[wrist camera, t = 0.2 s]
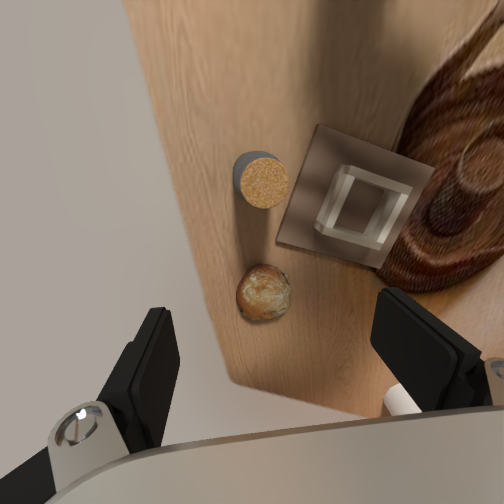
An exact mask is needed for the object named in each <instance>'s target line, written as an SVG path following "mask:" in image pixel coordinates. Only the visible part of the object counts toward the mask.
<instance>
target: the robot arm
mask: <svg viewBox="0 0 504 504" xmlns="http://www.w3.org/2000/svg"><path fill="white" fill-rule="evenodd" d="M370 341H371V345H372V347H373V348H374V349H375V351H376V352H377V353H378V355H379V356H380V357H381V359H382V360H383V361H384V363H385V364H386V365H387V367H388V368H389V369H390V370H391V372H392V373H393V374H394V376H395V377H396V378H397V380H398V381H399V382H400V384H401V385H402V386H403V388H404V389H405V390H406V392H407V393H408V394H409V396H410V397H411V398H412V399H413V401H414V402H415V403H416V405H417V406H418V407H419V409H420V410H421V411H422V412H421V413H413V414H404V415H395V416H387V417H378V418H370V419H362V420H355V421H346V422H338V423H329V424H321V425H313V426H305V427H298V428H289V429H281V430H274V431H267V432H259V433H251V434H243V435H235V436H227V437H220V438H213V439H206V440H200V441H193V442H186V443H179V444H173V445H167V446H163V447H161V442H162V439H163V435H164V430H165V426H166V421H167V418H168V413H169V409H170V405H171V400H172V396H173V392H174V388H175V384H176V379H177V375H178V371H179V367H180V356H179V351H178V346H177V341H176V336H175V332H174V326H173V321H172V316H171V312H170V310H166V308H165V307H158V308H151V309H150V310H149V312H148V314H147V316H146V318H145V320H144V321H143V323H142V325H141V327H140V329H139V331H138V333H137V335H136V337H135V339H134V341H132V342H129V343H128V344H127V345H126V347H125V349H124V350H123V352H122V354H121V356H120V358H119V360H118V361H117V363H116V365H115V367H114V369H113V371H112V372H111V374H110V376H109V378H108V380H107V382H106V383H105V385H104V387H103V389H102V391H101V392H100V394H99V396H98V398H97V400H96V401H91V402H87V403H83V404H81V405H79V406H77V407H75V408H73V409H72V410H71V411H69V412H68V413H66V414H65V415H64V416H63V417H62V418H61V419H60V420H59V421H58V422H57V423H56V425H55V426H54V427H53V429H52V430H51V432H50V435H49V437H48V446H47V447H45V448H44V449H43V450H41V451H40V452H38V453H37V454H35V455H34V456H33V457H31V458H30V459H28V460H27V461H26V462H24V463H23V464H22V465H20V466H18V467H17V468H16V469H14V470H13V471H11V472H10V473H9V474H7V475H6V476H4V477H3V478H1V479H0V504H504V358H496V357H493V358H488V359H487V360H486V361H485V362H484V361H483V360H482V359H480V355H481V353H482V352H481V351H480V350H478V349H477V348H476V347H475V346H473V345H472V344H471V343H469V342H468V341H467V340H465V339H464V338H463V337H462V336H460V335H459V334H458V333H456V332H455V331H454V330H452V329H451V328H450V327H449V326H447V325H446V324H445V323H443V322H442V321H441V320H439V319H438V318H437V317H436V316H434V315H433V314H432V313H430V312H429V311H428V310H426V309H425V308H424V307H423V306H421V305H420V304H419V303H417V302H416V301H415V300H413V299H412V298H411V297H410V296H408V295H407V294H406V293H404V292H403V291H402V290H400V289H399V288H397V287H391V288H383V289H382V290H381V292H379V293H378V297H377V303H376V308H375V314H374V320H373V326H372V331H371V337H370Z"/></svg>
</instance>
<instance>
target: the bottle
mask: <svg viewBox="0 0 504 504" xmlns="http://www.w3.org/2000/svg"><path fill="white" fill-rule="evenodd" d="M233 180H234V185H235V188H236V191H237V192H238V194H239V195H240V197H241V198H242V199H243V200H245V201H246V202H248V203H249V204H251V205H252V206H254V207H257V208H261V209H268V208H272V207H274V206H276V205H278V204H279V203H280V202H281V201H282V200H283V199H284V198H285V196H286V195H287V192H288V189H289V176H288V173H287V171H286V169H285V167H284V166H283V165H282V164H281V162H280V161H279V160H278V159H277V158H276V157H275V156H273V155H272V154H270V153H267V152H263V151H252V152H247V153H245V154H243V155H241V156H240V157H239V158H238V159H237V160H236V162H235V164H234V167H233Z"/></svg>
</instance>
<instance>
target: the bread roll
mask: <svg viewBox="0 0 504 504" xmlns="http://www.w3.org/2000/svg"><path fill="white" fill-rule="evenodd" d="M288 280H289V279H288V276H287V274H286V273H285V274H283V273H282V272H281V271H280V270H279V269H277V267H274V266H272V265H268V264H262V265H257V266H254V267H252V268H250V269H249V270H248V271H247V272H246V274H245V275H244V277H243V278H242V279H241V281H240V283H239V285H238V288H237V290H236V296H237V297H236V301H237V303H238V305H239V306H240V307H241V308H242V309H241V313H242V314H244V315H246V316H247V317H249V318H251V319H252V320H260V319H271V318H275V317H278V316H280V315H282V314H284V313H285V312H286V311H287V310H288V309H289V307H290V305H291V301H292V290H291V287H290V283H289V282H288Z"/></svg>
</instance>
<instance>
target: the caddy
mask: <svg viewBox="0 0 504 504" xmlns="http://www.w3.org/2000/svg"><path fill="white" fill-rule="evenodd" d="M434 170H435V168H433V167H431V166H428V165H425V164H423V163H420V162H417V161H415V160H412V159H410V158H407V157H404V156H402V155H399V154H397V153H394V152H391V151H389V150H386V149H384V148H381V147H378V146H376V145H373V144H371V143H368V142H365V141H363V140H360V139H358V138H355V137H352V136H350V135H347V134H345V133H342V132H339V131H337V130H334V129H332V128H329V127H326V126H324V125H321V124H317V125H316V128H315V131H314V133H313V136H312V139H311V142H310V144H309V147H308V150H307V153H306V155H305V158H304V161H303V164H302V166H301V169H300V172H299V175H298V178H297V180H296V183H295V186H294V189H293V191H292V194H291V197H290V200H289V202H288V205H287V208H286V211H285V213H284V216H283V219H282V222H281V224H280V227H279V230H278V233H277V236H276V238H275V239H276V240H277V241H279V242H283V243H286V244H290V245H294V246H297V247H301V248H305V249H308V250H312V251H316V252H319V253H323V254H327V255H330V256H334V257H338V258H341V259H345V260H349V261H352V262H356V263H360V264H363V265H367V266H371V267H374V268H378V269H380V268H381V266H382V264H383V263H384V261H385V259H386V257H387V255H388V253H389V252H390V250H391V248H392V246H393V244H394V242H395V241H396V239H397V237H398V235H399V233H400V232H401V230H402V228H403V226H404V224H405V222H406V221H407V219H408V217H409V215H410V213H411V211H412V210H413V208H414V206H415V204H416V202H417V201H418V199H419V197H420V195H421V193H422V191H423V190H424V188H425V186H426V184H427V182H428V180H429V179H430V177H431V175H432V173H433V171H434Z"/></svg>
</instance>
